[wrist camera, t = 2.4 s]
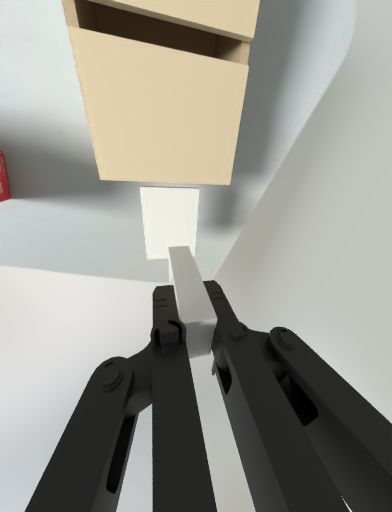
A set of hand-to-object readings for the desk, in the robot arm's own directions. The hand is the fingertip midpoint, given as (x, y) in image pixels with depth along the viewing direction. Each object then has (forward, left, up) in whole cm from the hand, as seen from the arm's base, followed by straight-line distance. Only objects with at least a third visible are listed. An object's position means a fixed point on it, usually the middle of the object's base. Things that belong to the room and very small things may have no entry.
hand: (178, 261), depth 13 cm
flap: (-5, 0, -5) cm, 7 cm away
